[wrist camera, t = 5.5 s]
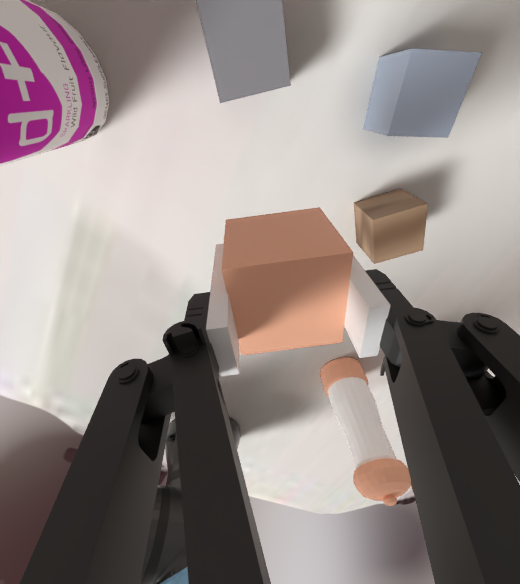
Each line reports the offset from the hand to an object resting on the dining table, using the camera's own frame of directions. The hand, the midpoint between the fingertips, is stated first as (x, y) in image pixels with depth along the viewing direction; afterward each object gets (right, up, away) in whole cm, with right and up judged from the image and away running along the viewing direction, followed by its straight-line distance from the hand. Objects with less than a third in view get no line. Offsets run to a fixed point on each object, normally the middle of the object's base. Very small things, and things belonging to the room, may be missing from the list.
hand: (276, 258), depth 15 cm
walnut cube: (+12, +7, +15) cm, 20 cm away
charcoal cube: (-2, +17, +6) cm, 18 cm away
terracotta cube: (0, 0, 0) cm, 0 cm away
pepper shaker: (+13, -16, +32) cm, 38 cm away
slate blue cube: (+11, +15, +8) cm, 21 cm away
